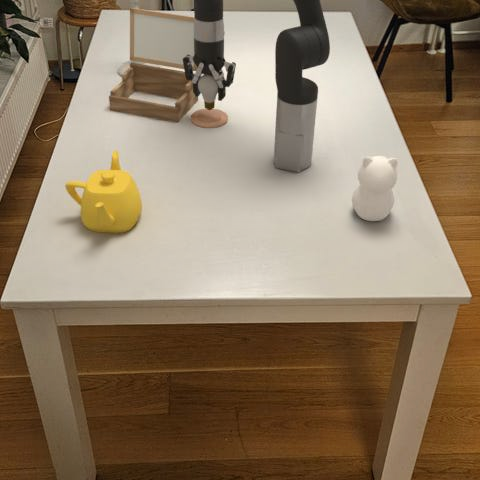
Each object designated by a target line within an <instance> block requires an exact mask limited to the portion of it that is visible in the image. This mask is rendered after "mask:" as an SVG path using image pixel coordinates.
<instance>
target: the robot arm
mask: <svg viewBox="0 0 480 480" xmlns="http://www.w3.org/2000/svg"><path fill="white" fill-rule="evenodd" d="M193 1H194V2H193V3H194V5H193V8H194V10H193V11H194V13H193V14H194V15H193V17H194V53H195V54H194V56H190V55H186V56H185V57H184V58H183V65H184V69H183V70H184V71H183V72H185V77H186V79H187V80H191V81H192V82H193V93H194V94H195V96H197V97H198V98H199V96H200V95H202V94H201V93H200V91H199V89H198V81H199V79H200V77H201V76H203V75H204V74H208V75H211V76H214V79H215V80H216V81H217V83H218V85H219V88H218V93H217V100H218V101H220V102H222V101H223V100H224V99H225V98H226V91H227V90H226V88H230V86H231V85H232V84H233V83H234V79H235V78H234V77H235V73H236V66H237V64H236V62H234V61H231V62H230V61H229V62H228V61H226V59H225V35H226V34H225V33H226V32H225V24H224V23H225V22H224V0H193ZM292 1H293V3H294V6H295V7H296V10H297V11H296V12H297V14H298V19H299V26H296V27H290V28H286V29H284V30H281V31H280V33H279V34H278V36H277V37H276V42H275V51H274V52H275V53H274V55H275V56H274V58H275V63H274V64H275V65H274V66H275V67H274V68H275V70H274V71H275V72H274V73H275V74H274V75H275V76H274V77H275V78H274V79H275V84H276V89H277V90H276V91H277V92H276V93H277V95H276V96H277V97H276V98H277V99H276V108H275V109H276V111H275V126H274V127H275V131H274V132H275V133H274V149H273V150H274V151H273V163H274V164H275V165H274V167H275V168H276V169H281V170H286V171H289V172H290V171H291V172H296V173H301V171H302V170H306V169H308V168H309V167H310V166H311V165H312V161H313V160H312V159H313V151H314V150H313V149H314V140H315V138H314V137H315V131H316V130H315V126H316V117H317V107H318V96H319V86H318V84H317V83H316V82H315V81H313V80H312V79H309V78H306V77H303V71H304V70H308V69H312V68H315V67H318V66H322V65H324V64H325V63H327V61H328V59H329V57H330V54H331V53H330V51H331V46H330V45H331V44H330V36H329V32H328V28H327V23H326V20H325V19H326V18H325V16H324V15H325V14H324V11H323V8H322V4H321V0H292ZM193 61H194V63H195V65H196V66H197V68H198V69H197V71H195V75H194V74H193V73H194V71H193V68H192V63H193ZM223 67H225V71H226V78H225V73H224V71H223Z"/></svg>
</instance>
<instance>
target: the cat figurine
mask: <svg viewBox="0 0 480 480" xmlns="http://www.w3.org/2000/svg"><path fill="white" fill-rule="evenodd" d="M397 166H398V158H397V157H389V158H388V157H387V156H384V155H375V156H365V157H364V158H363V159H362V164H360V167H359V170H358V172H357V178H358V179H357V180H358V184H357V185H356V186H355V188H354V190H353V193H352V196H351V203H352V207H353V209H354V211H355V212H356V214H357V215H358V217H359V218H361V219H363V220H364V221H368V222H379V221H380V222H381V221H383V220H385V219H386V217H388V216H389V214H390V212H391V211H392V209H393V207H394V204H395V193H394V190H393V189H394V187H395V185H396V183H397V180H398V170H397Z"/></svg>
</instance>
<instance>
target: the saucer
mask: <svg viewBox="0 0 480 480" xmlns="http://www.w3.org/2000/svg"><path fill="white" fill-rule="evenodd" d="M189 118H190V121H191V124H193V125H195V126H196V127H199V128H204V129H215V128H219V127H222V126H224V125H225V124H227V123H228V121H229V115H228V114H227V113H226V112H225V111H223V110H221V109H218V108H217V109H216V108H213V109H211V110H208V109H206V108H202V109H197V110H195V111H193V113H191V114H190V117H189Z"/></svg>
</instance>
